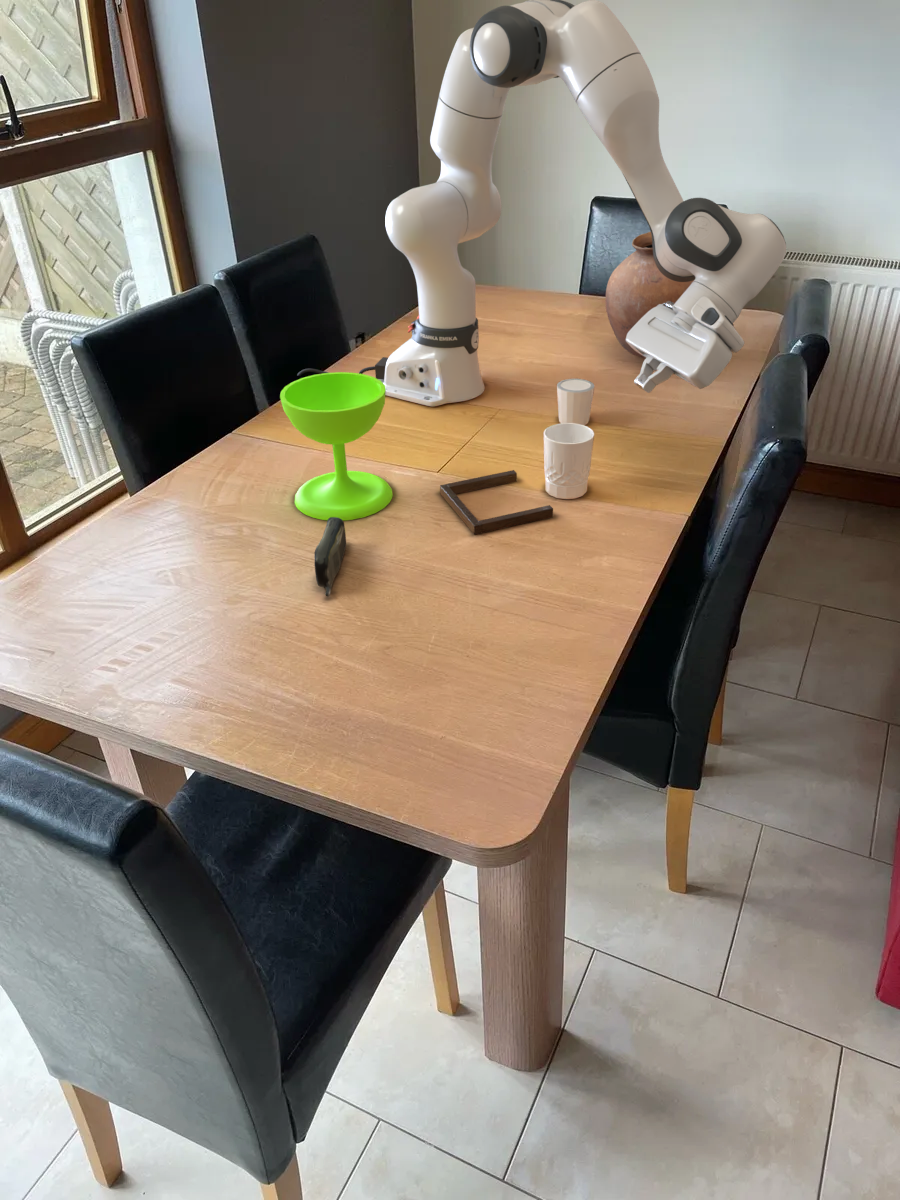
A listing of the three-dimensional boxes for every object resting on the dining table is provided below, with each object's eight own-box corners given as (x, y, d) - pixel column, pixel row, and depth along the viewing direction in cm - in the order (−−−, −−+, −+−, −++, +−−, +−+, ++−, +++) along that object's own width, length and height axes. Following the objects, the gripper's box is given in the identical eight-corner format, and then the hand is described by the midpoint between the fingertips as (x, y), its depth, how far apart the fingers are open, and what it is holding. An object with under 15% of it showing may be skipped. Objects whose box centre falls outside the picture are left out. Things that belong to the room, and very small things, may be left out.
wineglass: (350, 465, 158) (340, 364, 148) (413, 495, 149) (407, 389, 139) (274, 497, 149) (258, 392, 139) (336, 531, 140) (324, 421, 129)
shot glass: (590, 429, 168) (593, 392, 164) (553, 426, 170) (554, 390, 166) (593, 414, 174) (595, 378, 170) (557, 412, 175) (558, 376, 171)
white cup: (594, 482, 151) (598, 425, 145) (584, 504, 145) (588, 446, 139) (548, 476, 153) (550, 420, 147) (536, 497, 147) (538, 440, 141)
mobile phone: (325, 514, 135) (308, 566, 122) (345, 514, 134) (331, 566, 122) (328, 543, 137) (312, 598, 125) (348, 543, 137) (334, 597, 125)
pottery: (722, 346, 202) (740, 227, 188) (685, 380, 187) (701, 253, 172) (626, 331, 213) (636, 217, 199) (583, 362, 197) (590, 240, 183)
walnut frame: (513, 478, 153) (513, 469, 152) (553, 517, 142) (553, 508, 141) (440, 493, 149) (439, 485, 148) (474, 535, 138) (474, 525, 137)
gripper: (653, 286, 147) (596, 355, 150) (730, 322, 131) (664, 399, 134) (675, 310, 151) (619, 377, 154) (751, 348, 135) (687, 422, 138)
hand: (640, 387), depth 144 cm, fingers closed
